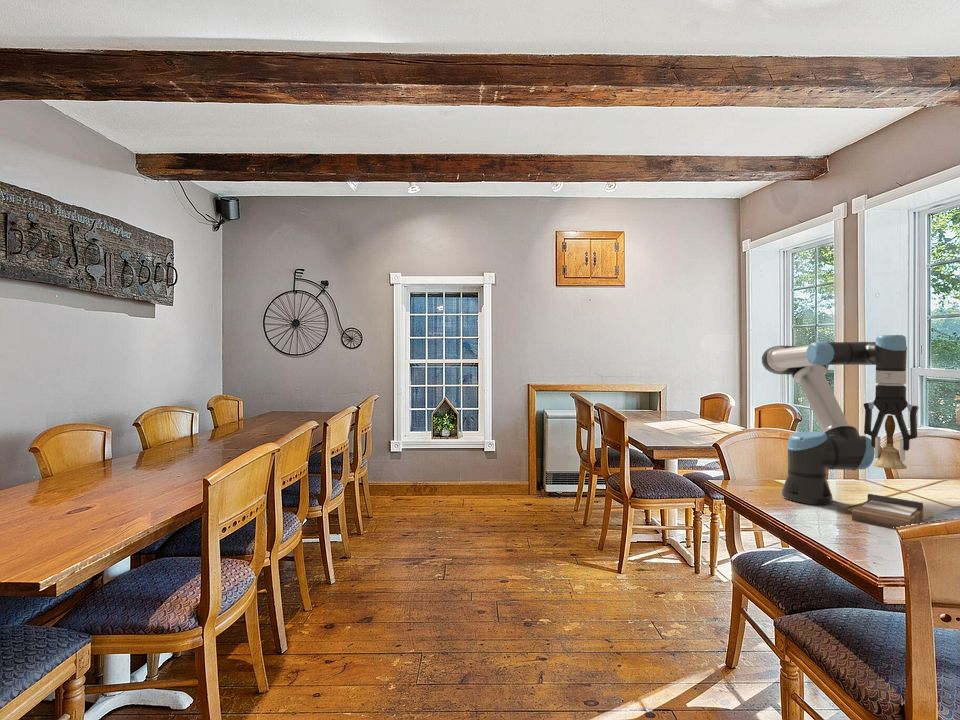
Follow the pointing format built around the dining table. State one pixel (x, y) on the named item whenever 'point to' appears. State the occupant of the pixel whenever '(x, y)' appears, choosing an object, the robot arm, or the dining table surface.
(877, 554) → the dining table surface
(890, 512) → the brown wooden display stand
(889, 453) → the hand bell
